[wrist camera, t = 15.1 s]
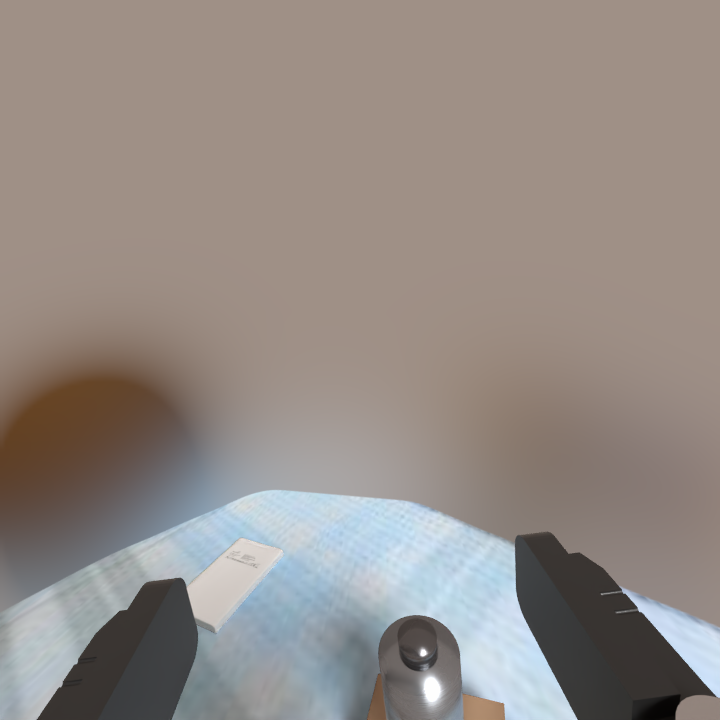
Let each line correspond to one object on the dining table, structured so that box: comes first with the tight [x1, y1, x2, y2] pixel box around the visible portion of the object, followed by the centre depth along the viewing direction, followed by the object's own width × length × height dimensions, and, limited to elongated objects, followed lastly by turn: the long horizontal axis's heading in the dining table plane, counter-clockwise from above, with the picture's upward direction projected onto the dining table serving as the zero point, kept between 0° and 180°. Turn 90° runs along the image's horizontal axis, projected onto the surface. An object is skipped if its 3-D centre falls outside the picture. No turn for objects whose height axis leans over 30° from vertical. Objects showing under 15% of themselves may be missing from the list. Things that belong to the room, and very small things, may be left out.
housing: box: [378, 615, 464, 720], centre depth 24 cm, size 6×6×11 cm
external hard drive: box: [186, 538, 284, 634], centre depth 49 cm, size 2×8×12 cm
